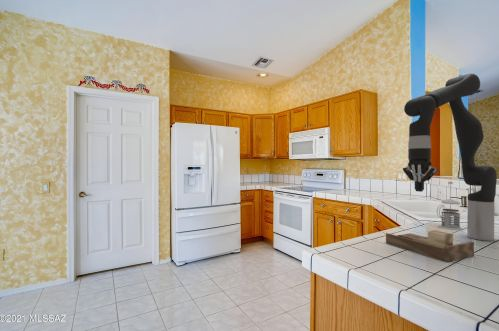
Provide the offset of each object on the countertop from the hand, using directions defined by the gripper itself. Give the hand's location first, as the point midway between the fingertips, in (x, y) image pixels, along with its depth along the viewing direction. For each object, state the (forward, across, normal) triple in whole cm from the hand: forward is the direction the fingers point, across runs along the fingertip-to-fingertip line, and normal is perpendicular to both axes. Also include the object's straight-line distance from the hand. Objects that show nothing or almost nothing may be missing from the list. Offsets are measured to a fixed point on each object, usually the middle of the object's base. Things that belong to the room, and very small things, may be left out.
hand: (419, 191), depth 102 cm
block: (+21, -8, 0) cm, 22 cm away
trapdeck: (+23, -1, -3) cm, 23 cm away
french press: (+23, +17, -51) cm, 59 cm away
